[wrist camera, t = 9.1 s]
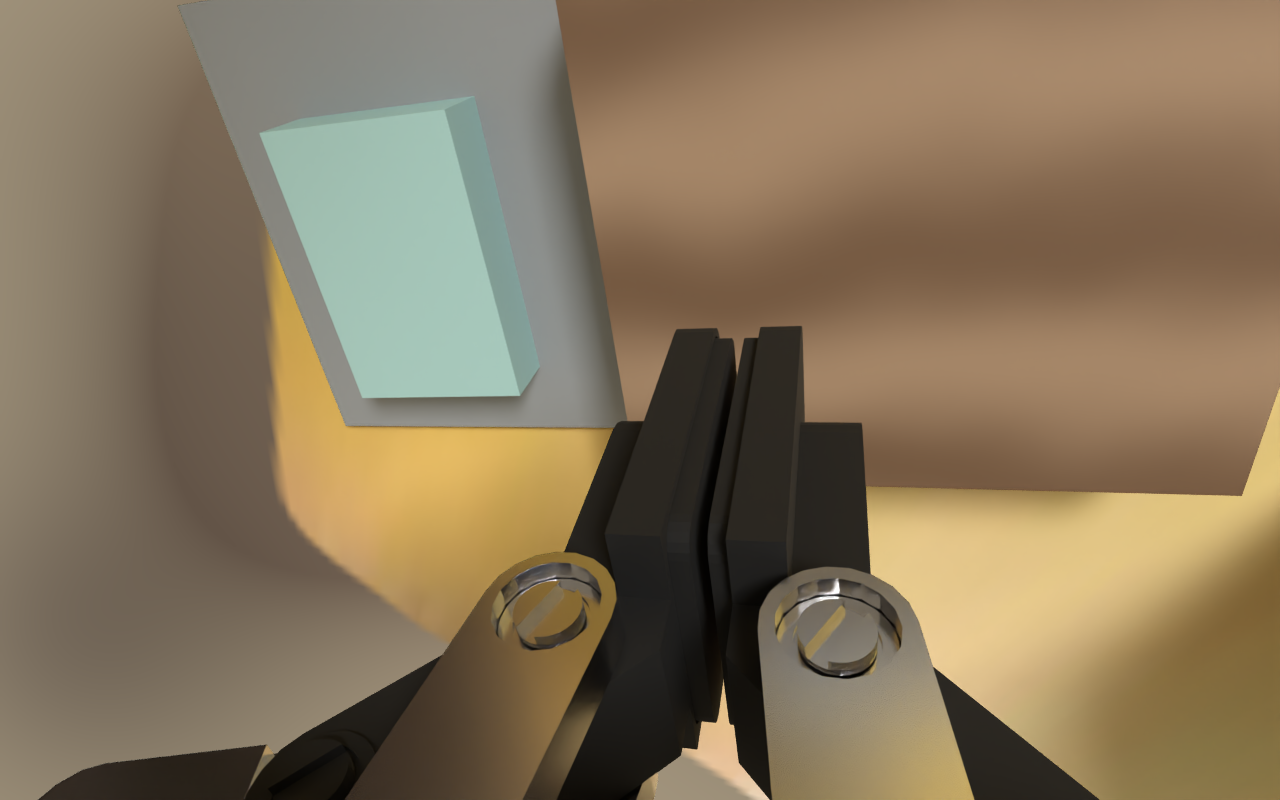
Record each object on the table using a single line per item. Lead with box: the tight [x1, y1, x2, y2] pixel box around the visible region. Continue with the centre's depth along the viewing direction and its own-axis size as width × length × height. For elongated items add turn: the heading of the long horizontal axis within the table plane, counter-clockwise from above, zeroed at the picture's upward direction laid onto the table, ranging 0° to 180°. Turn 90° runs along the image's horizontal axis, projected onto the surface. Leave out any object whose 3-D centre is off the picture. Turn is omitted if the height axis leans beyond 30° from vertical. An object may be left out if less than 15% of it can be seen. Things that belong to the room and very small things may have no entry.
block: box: [259, 96, 540, 398], centre depth 24 cm, size 9×6×2 cm, turn 9°
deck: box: [556, 0, 1280, 496], centre depth 19 cm, size 14×16×4 cm
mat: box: [178, 0, 627, 428], centre depth 24 cm, size 15×12×1 cm
